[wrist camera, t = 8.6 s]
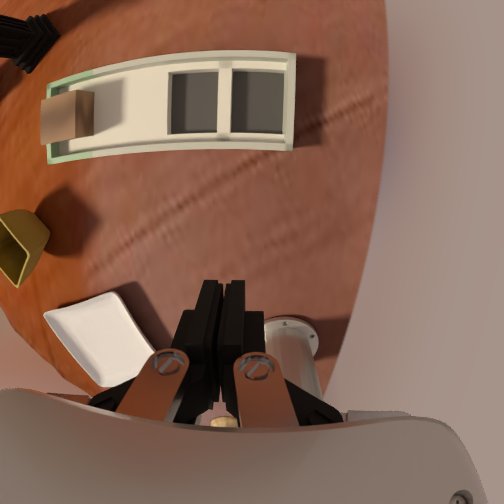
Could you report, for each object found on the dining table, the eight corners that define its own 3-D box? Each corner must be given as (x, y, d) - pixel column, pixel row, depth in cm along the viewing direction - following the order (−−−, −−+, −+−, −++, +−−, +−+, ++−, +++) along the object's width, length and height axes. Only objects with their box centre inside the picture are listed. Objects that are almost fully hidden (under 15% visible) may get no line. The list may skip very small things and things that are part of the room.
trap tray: (287, 148, 32) (292, 151, 29) (63, 160, 32) (47, 164, 28) (290, 61, 28) (296, 53, 24) (63, 85, 27) (47, 84, 23)
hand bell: (236, 413, 55) (234, 474, 41) (250, 428, 59) (250, 483, 44) (204, 418, 57) (198, 475, 42) (220, 433, 60) (216, 485, 45)
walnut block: (93, 135, 29) (75, 138, 25) (60, 141, 29) (40, 145, 25) (94, 92, 27) (75, 89, 22) (60, 100, 26) (41, 100, 22)
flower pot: (31, 196, 34) (-4, 214, 26) (62, 230, 37) (29, 254, 28) (17, 232, 36) (-13, 252, 28) (46, 263, 39) (17, 289, 31)
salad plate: (104, 378, 52) (100, 389, 49) (48, 305, 43) (40, 315, 40) (181, 368, 49) (178, 381, 46) (122, 278, 41) (114, 290, 37)
